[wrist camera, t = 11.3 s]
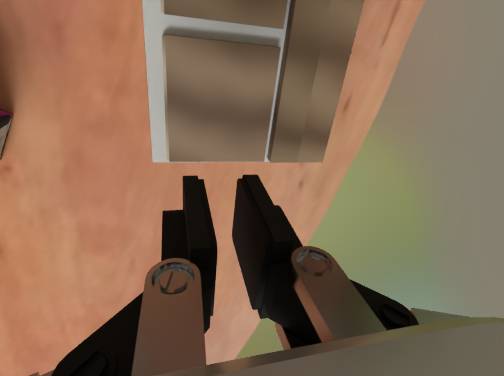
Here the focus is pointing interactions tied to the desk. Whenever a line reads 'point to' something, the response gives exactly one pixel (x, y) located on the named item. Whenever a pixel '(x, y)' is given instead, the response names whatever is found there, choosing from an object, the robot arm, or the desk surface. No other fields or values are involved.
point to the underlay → (201, 28)
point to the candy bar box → (4, 128)
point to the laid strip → (311, 77)
